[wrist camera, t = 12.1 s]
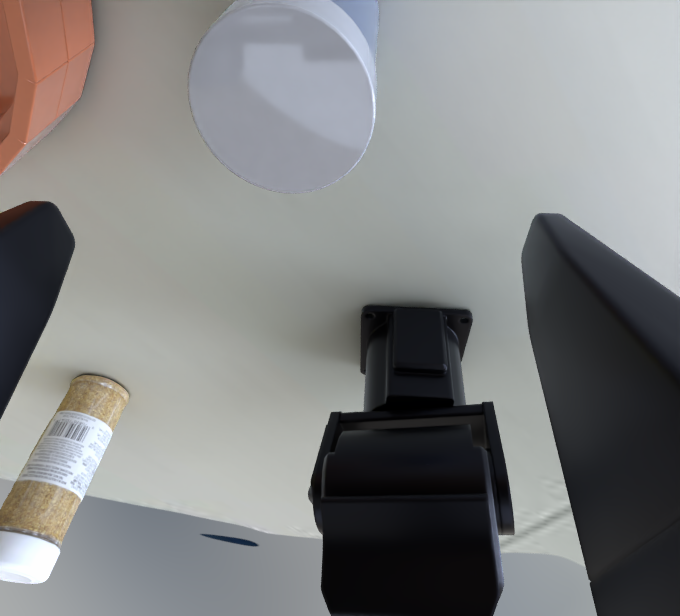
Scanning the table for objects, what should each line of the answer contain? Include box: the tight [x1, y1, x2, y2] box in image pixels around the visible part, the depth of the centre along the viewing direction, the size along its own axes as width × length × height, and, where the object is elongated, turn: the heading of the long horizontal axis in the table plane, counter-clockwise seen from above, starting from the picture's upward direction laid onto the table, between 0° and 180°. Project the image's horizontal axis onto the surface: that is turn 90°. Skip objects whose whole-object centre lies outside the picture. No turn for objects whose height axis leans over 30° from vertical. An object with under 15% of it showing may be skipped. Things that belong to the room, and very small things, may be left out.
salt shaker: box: [188, 0, 379, 193], centre depth 14 cm, size 5×5×8 cm
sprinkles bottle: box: [0, 375, 129, 584], centre depth 32 cm, size 5×5×13 cm
